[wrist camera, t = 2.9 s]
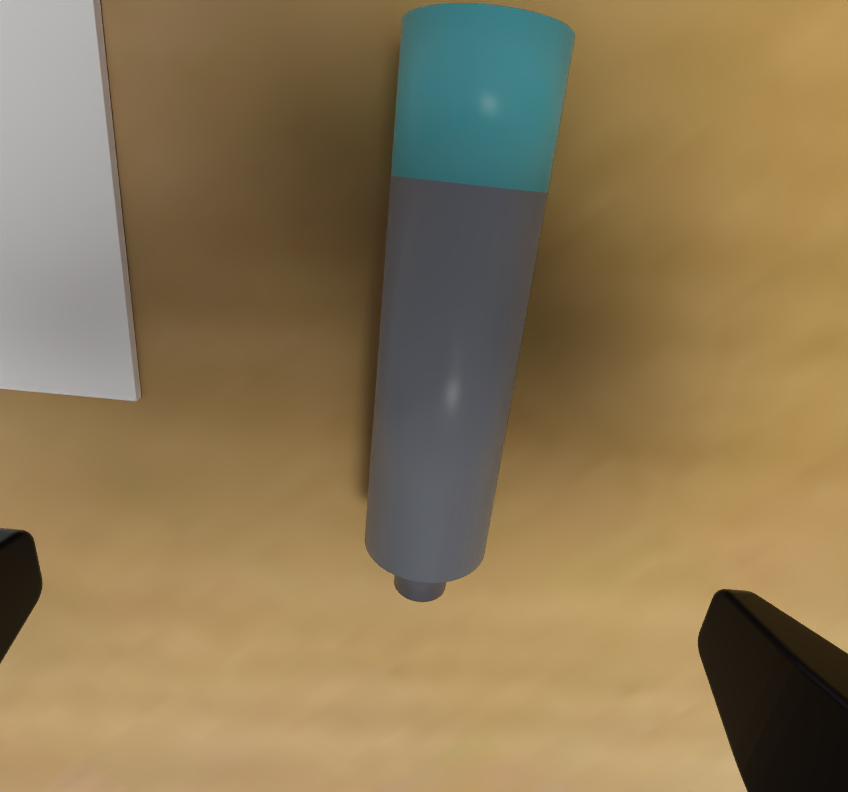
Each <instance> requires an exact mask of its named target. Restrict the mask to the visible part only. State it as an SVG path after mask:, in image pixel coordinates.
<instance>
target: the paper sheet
mask: <svg viewBox="0 0 848 792" xmlns="http://www.w3.org/2000/svg"><path fill="white" fill-rule="evenodd" d="M0 389H10V390H21V391H31V392H42V393H53V394H63V395H74V396H85V397H95V398H106V399H117V400H128V401H138V400H139V399H140V398H141V389H140V379H139V369H138V360H137V350H136V341H135V331H134V322H133V312H132V302H131V293H130V283H129V274H128V264H127V254H126V245H125V235H124V226H123V216H122V207H121V197H120V187H119V178H118V168H117V159H116V149H115V139H114V130H113V120H112V111H111V101H110V92H109V82H108V72H107V63H106V53H105V44H104V34H103V24H102V15H101V5H100V0H0Z"/></svg>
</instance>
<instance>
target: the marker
mask: <svg viewBox="0 0 848 792" xmlns="http://www.w3.org/2000/svg"><path fill="white" fill-rule="evenodd" d="M574 40H575V33H574V31H573V30H572V29H571V28H570V27H569V26H568V25H566V24H564V23H563V22H561V21H559V20H557V19H554V18H551V17H549V16H546V15H542V14H539V13H535V12H531V11H527V10H522V9H517V8H512V7H505V6H497V5H488V4H471V3H451V4H437V5H429V6H424V7H420V8H417V9H413V10H411V11H409V12H407V13H406V14H405V15H404V16H403V18H402V28H401V42H400V56H399V70H398V84H397V97H396V111H395V125H394V139H393V153H392V167H391V181H390V195H389V209H388V223H387V237H386V250H385V264H384V278H383V292H382V306H381V320H380V334H379V348H378V362H377V376H376V390H375V404H374V417H373V431H372V445H371V459H370V473H369V487H368V501H367V515H366V529H365V545H366V549H367V551H368V553H369V555H370V556H371V558H372V559H373V560H374V561H375V562H376V563H377V564H378V565H379V566H380V567H382V568H383V569H385V570H386V571H388V572H390V573H392V574H394V575H395V578H394V585H395V588H396V590H397V591H398V592H399V593H400V594H401V595H402V596H404V597H405V598H407V599H409V600H413V601H417V602H428V601H432V600H435V599H437V598H438V597H440V596H441V595H442V594H443V592H444V590H445V586H446V582H448V581H453V580H456V579H459V578H462V577H464V576H466V575H468V574H470V573H471V572H473V571H474V570H475V569H476V568H477V567H478V566H479V565H480V563H481V562H482V560H483V557H484V553H485V548H486V542H487V536H488V531H489V525H490V519H491V514H492V508H493V502H494V496H495V491H496V485H497V479H498V474H499V468H500V462H501V456H502V451H503V445H504V439H505V434H506V428H507V422H508V416H509V411H510V405H511V399H512V394H513V388H514V382H515V377H516V371H517V365H518V359H519V354H520V348H521V342H522V337H523V331H524V325H525V319H526V314H527V308H528V302H529V297H530V291H531V285H532V280H533V274H534V268H535V262H536V257H537V251H538V245H539V240H540V234H541V228H542V222H543V217H544V211H545V205H546V200H547V194H548V188H549V182H550V177H551V171H552V165H553V160H554V154H555V148H556V143H557V137H558V131H559V125H560V120H561V114H562V108H563V103H564V97H565V91H566V85H567V80H568V74H569V68H570V63H571V57H572V51H573V45H574Z"/></svg>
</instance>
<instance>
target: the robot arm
mask: <svg viewBox="0 0 848 792" xmlns="http://www.w3.org/2000/svg"><path fill="white" fill-rule="evenodd" d="M41 590H42V576H41V571H40V566H39V561H38V556H37V552H36V547H35V542H34V539H33V537H32V535H31V534H30V533H29V532H27V531H24V530H16V529H4V528H0V663H1V661H2V660H3V658H4V656H5V655H6V653H7V651H8V650H9V648H10V646H11V645H12V643H13V641H14V640H15V638H16V637H17V635H18V633H19V632H20V630H21V628H22V627H23V625H24V623H25V622H26V620H27V618H28V617H29V615H30V613H31V612H32V610H33V608H34V607H35V605H36V603H37V601H38V599H39V597H40V594H41ZM698 649H699V654H700V657H701V660H702V663H703V666H704V669H705V672H706V675H707V678H708V681H709V684H710V687H711V690H712V693H713V696H714V699H715V702H716V705H717V708H718V711H719V714H720V717H721V720H722V723H723V726H724V729H725V732H726V735H727V738H728V741H729V744H730V746H731V749H732V752H733V755H734V758H735V761H736V763H737V766H738V769H739V772H740V774H741V777H742V779H743V782H744V784H745V786H746V789H747V791H748V792H848V654H847V653H846V652H844V651H843V650H841V649H840V648H838V647H837V646H835V645H833V644H832V643H830V642H829V641H827V640H826V639H824V638H823V637H821V636H820V635H818V634H817V633H815V632H813V631H812V630H810V629H809V628H807V627H806V626H804V625H803V624H801V623H800V622H798V621H796V620H795V619H793V618H792V617H790V616H789V615H787V614H786V613H784V612H783V611H781V610H779V609H778V608H776V607H775V606H773V605H772V604H770V603H769V602H767V601H766V600H764V599H762V598H761V597H759V596H758V595H756V594H754V593H752V592H749V591H743V590H731V589H722V590H719V591H717V592H716V593H715V594H714V596H713V598H712V601H711V603H710V606H709V609H708V611H707V614H706V616H705V619H704V622H703V624H702V627H701V629H700V632H699V636H698Z"/></svg>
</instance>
